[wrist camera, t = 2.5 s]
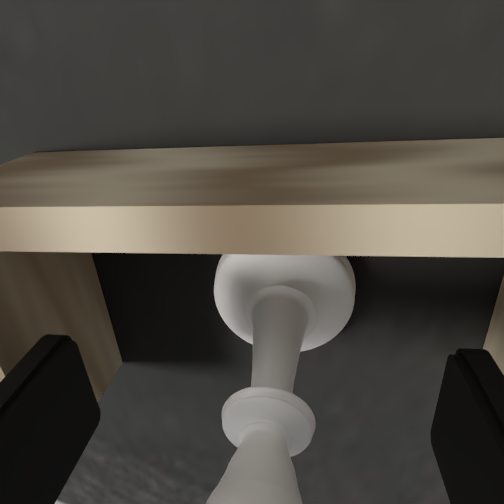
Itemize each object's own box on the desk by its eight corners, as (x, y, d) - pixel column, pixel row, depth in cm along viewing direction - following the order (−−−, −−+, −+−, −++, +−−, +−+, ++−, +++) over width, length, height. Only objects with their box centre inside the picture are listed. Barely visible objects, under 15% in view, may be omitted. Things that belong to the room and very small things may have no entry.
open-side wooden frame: (585, 135, 10) (795, 201, 6) (502, 384, 14) (587, 534, 10) (34, 152, 12) (-118, 207, 8) (100, 361, 17) (24, 473, 12)
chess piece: (366, 332, 14) (457, 808, 5) (239, 349, 15) (139, 757, 6) (340, 208, 12) (418, 650, 3) (196, 240, 13) (-35, 620, 4)
